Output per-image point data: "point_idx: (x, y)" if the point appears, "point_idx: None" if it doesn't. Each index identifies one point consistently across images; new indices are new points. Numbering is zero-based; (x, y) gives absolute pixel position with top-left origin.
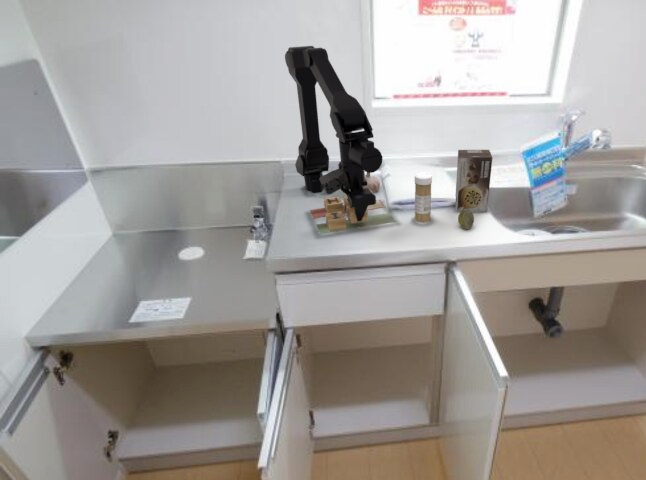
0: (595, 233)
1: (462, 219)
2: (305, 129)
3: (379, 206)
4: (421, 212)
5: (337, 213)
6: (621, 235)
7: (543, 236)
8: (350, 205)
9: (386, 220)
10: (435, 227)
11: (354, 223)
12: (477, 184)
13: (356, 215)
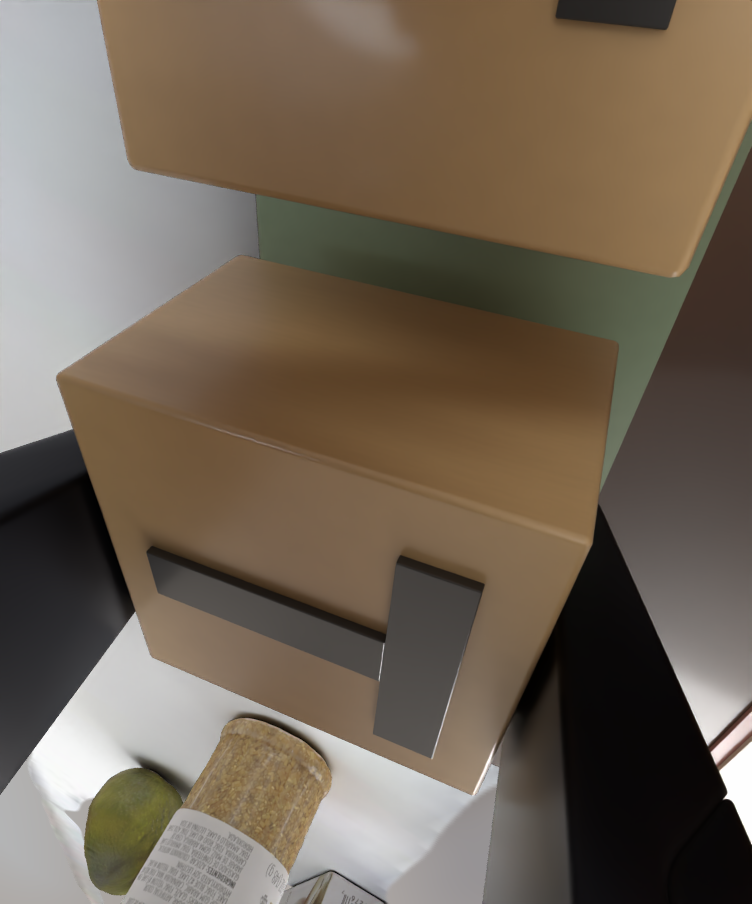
0: (82, 847)
1: (88, 820)
2: None
3: None
4: (171, 823)
5: (561, 2)
6: (70, 852)
7: (70, 805)
8: (568, 647)
9: None
10: (190, 727)
11: None
12: None
13: (43, 439)
